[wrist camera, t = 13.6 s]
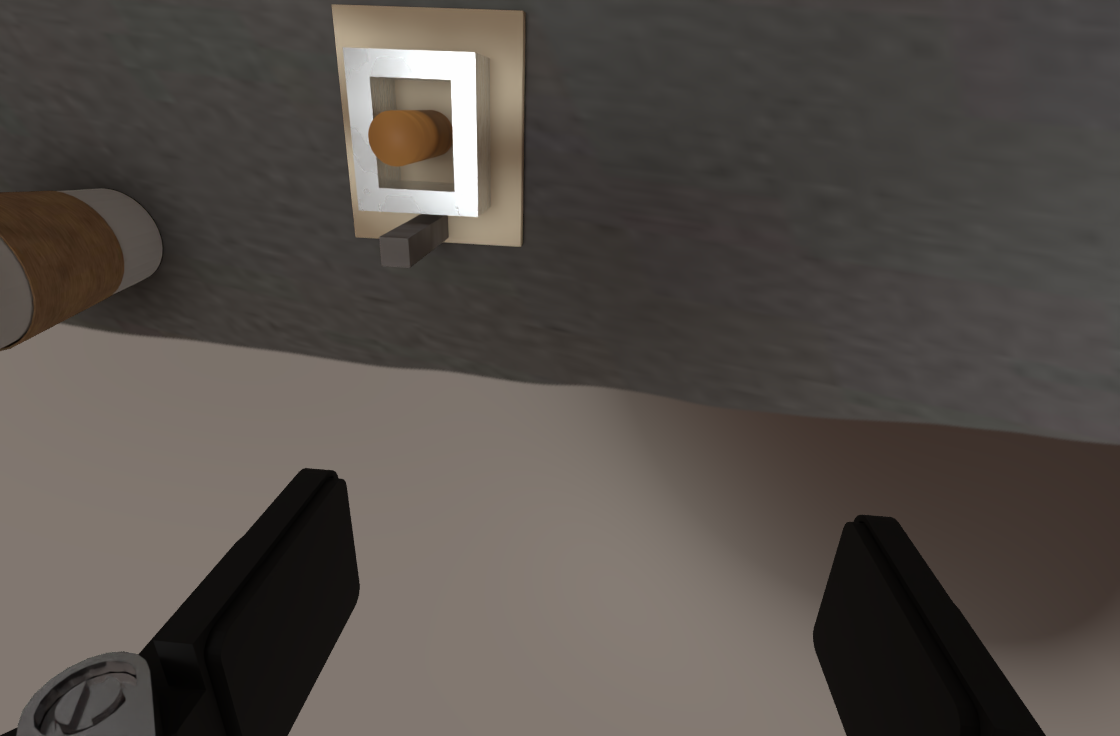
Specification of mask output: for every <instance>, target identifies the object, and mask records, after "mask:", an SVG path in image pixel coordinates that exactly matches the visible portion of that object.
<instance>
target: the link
mask: <svg viewBox="0 0 1120 736" xmlns="http://www.w3.org/2000/svg"><path fill="white" fill-rule="evenodd" d="M343 56H344V67H345V77H346V87H347V97H348V107H349V117H350V127H351V137H352V148H353V158H354V168H355V178H356V188H357V198H358V208H359V210H361V211H378V212H396V213H414V214H432V215H450V216H468V217H479V216H480V215H481V214H482V213H484V212H485V211H486V210H487V209H489V208H490V207H491V153H490V58H488V57H486V56H483V55H481V54H478V53H475V52H452V51H426V50H399V49H373V48H347V47H343ZM394 80H416V81H440V82H451V96H452V127H453V157H454V183H441V182H421V181H402V180H401V169H400V167H395V166H390V165H387V164H385V163H383V162H382V161H380V160H379V159H378V158H377V157H376V156H375V154H374V153H373V151H372V149H371V147H370V144H369V139H368V131H369V127H370V124H371V122H372V120H373V119H374V118H375V117H376V116H377V115H378V114H380V113H381V112H384V111H389V110H396V96H395V82H394Z"/></svg>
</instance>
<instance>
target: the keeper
mask: <svg viewBox="0 0 1120 736" xmlns="http://www.w3.org/2000/svg"><path fill="white" fill-rule="evenodd" d="M332 13H333V22H334V32H335V42H336V52H337V61H338V71H339V81H340V90H341V100H342V110H343V119H344V129H345V139H346V148H347V158H348V168H349V177H350V187H351V197H352V206H353V216H354V226H355V235H356V237H362V238H379V241H380V253H381V264H382V266H390V267H407V268H410V267H412V266H413V265H414V264H415V263H417V262H418V261H419V260H421V259H422V258H423V257H424V256H426V255H427V254H428V253H430V252H431V251H432V250H433V249H435V248H436V247H437V246H439V245H440V244H441V243H442V242H448V243H465V244H482V245H499V246H517V247H521V245H522V244H523V169H524V92H525V14H526V13H525V12H524V11H515V10H484V9H454V8H423V7H393V6H362V5H332ZM343 47H347V48H373V49H399V50H426V51H452V52H475V53H478V54H481V55H483V56H486V57H488V58H490V153H491V207H490V208H489V209H487V210H486V211H485V212H484V213H482V214H481V215H480V216H479V217H468V216H450V215H432V214H414V213H396V212H378V211H361V210H359V208H358V198H357V188H356V178H355V168H354V158H353V148H352V137H351V127H350V117H349V107H348V97H347V87H346V77H345V67H344V56H343ZM394 82H395V96H396V110H389V111H384V112H381V113H380V114H378V115H377V116H376V117H375V118H374V119H373V120H372V122H371V124H370V127H369V131H368V139H369V144H370V147H371V149H372V151H373V153H374V154H375V156H376V157H377V158H378V159H379V160H380V161H382V162H383V163H385V164H387V165H390V166H395V167H400V169H401V180H402V181H421V182H441V183H454V157H453V127H452V96H451V82H440V81H416V80H394Z"/></svg>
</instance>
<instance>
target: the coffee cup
mask: <svg viewBox="0 0 1120 736" xmlns="http://www.w3.org/2000/svg"><path fill="white" fill-rule="evenodd" d="M162 250H163V247H162V240H161V236H160V233H159V230H158V228H157V226H156V224H155V222H154V220H153V219H152V218H151V216H150V215H149V214H148V212H147V211H146V210H145V209H144V208H143V207H142V206H141V205H140V204H139V203H137V202H136V201H135V200H133V199H132V198H130V197H129V196H127V195H125V194H123V193H121V192H118V191H115V190H111V189H104V188H100V189H82V190H67V191H30V192H1V193H0V351H2V350H7V349H11V348H12V347H14V346H16V345H18V344H20V343H22V342H24V341H26V340H28V339H30V338H31V337H34V336H35V335H37V334H39V333H41V332H43V331H45V330H47V329H49V328H51V327H53V326H55V325H56V324H58V323H60V322H62V321H64V320H66V319H68V318H70V317H72V316H74V315H76V314H78V313H80V312H81V311H83V310H85V309H87V308H89V307H91V306H93V305H95V304H97V303H99V302H101V301H103V300H104V299H106V298H108V297H110V296H112V295H113V294H115V293H117V292H119V291H121V290H124V289H126V288H128V287H130V286H132V285H134V284H136V283H138V282H140V281H142V280H144V279H146V278H147V277H149V276H151V275H152V274H153V273H154V272H155V271H156V270H157V268H158V266H159V264H160V262H161V258H162Z"/></svg>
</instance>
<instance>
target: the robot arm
mask: <svg viewBox="0 0 1120 736" xmlns="http://www.w3.org/2000/svg"><path fill="white" fill-rule="evenodd" d="M359 590H360V584H359V576H358V569H357V562H356V553H355V546H354V538H353V531H352V524H351V516H350V508H349V501H348V493H347V486H346V482H345V481H344V480H343V479H338V475H337V474H336V472H335V471H333V470H321V469H309V468H305V469H302V470H301V471H300V472H299V473H298V474H297V475H296V476H295V477H294V478H293V480H292V481H291V482H290V483H289V484H288V485H287V486H286V488H285V489H284V490H283V491H282V492H281V493H280V494H279V496H278V497H277V498H276V499H275V500H274V502H273V503H272V504H271V505H270V506H269V507H268V508H267V510H266V511H265V512H264V513H263V514H262V515H261V516H260V518H259V519H258V520H257V521H256V522H255V523H254V524H253V526H252V527H251V528H250V529H249V530H248V532H247V533H246V534H245V535H244V536H243V537H242V538H241V539H239V540H238V541H237V542H236V543H235V544H234V546H233V547H232V548H231V549H230V550H229V551H228V552H227V553H226V555H225V556H224V557H223V558H222V559H221V560H220V562H219V563H218V564H217V565H216V566H215V567H214V568H213V570H212V571H211V572H210V573H209V574H208V575H207V576H206V578H205V579H204V580H203V581H202V582H201V583H200V584H199V586H198V587H197V588H196V589H195V590H194V591H193V592H192V594H191V595H190V596H189V597H188V598H187V599H186V601H185V602H184V603H183V604H182V605H181V606H180V607H179V609H178V610H177V611H176V612H175V613H174V615H173V616H172V617H171V618H170V619H169V620H168V621H167V622H166V623H165V625H164V626H163V627H162V628H161V629H160V630H159V632H158V633H157V634H156V635H155V636H154V637H153V638H152V640H151V641H150V642H149V643H148V644H147V645H146V646H145V648H144V649H143V650H142V651H141V652H140V653H139V654H134V653H129V652H112V653H105V654H101V655H98V656H95V657H91V658H88V659H86V660H84V661H81V662H79V663H77V664H75V665H73V666H71V667H69V668H67V669H66V670H64V671H63V672H61V673H60V674H58V675H57V676H55V677H54V678H52V679H51V680H49V681H48V682H47V683H46V684H45V685H44V686H43V687H42V688H41V689H39V690H38V691H37V692H36V693H35V694H34V695H33V697H32V698H31V699H30V701H29V702H28V704H27V705H26V706H25V708H24V709H23V711H22V714H21V717H20V720H19V723H18V727H17V728H15V729H13V730H11V731H9V732H7V733H5V734H2V735H0V736H288V734H289V732H290V730H291V728H292V726H293V724H294V722H295V720H296V719H297V717H298V715H299V713H300V711H301V709H302V707H303V705H304V703H305V701H306V699H307V697H308V695H309V694H310V691H311V690H312V687H313V686H314V684H315V682H316V680H317V678H318V676H319V674H320V672H321V671H322V669H323V667H324V665H325V663H326V661H327V659H328V657H329V655H330V653H331V651H332V649H333V648H334V645H335V643H336V642H337V640H338V638H339V636H340V634H341V632H342V630H343V628H344V626H345V624H346V623H347V621H348V619H349V617H350V615H351V613H352V611H353V609H354V607H355V605H356V603H357V600H358V596H359ZM813 642H814V648H815V651H816V654H817V656H818V659H819V662H820V665H821V667H822V670H823V673H824V676H825V678H826V681H827V684H828V686H829V689H830V692H831V695H832V697H833V700H834V703H835V705H836V708H837V711H838V714H839V716H840V719H841V722H842V724H843V727H844V730H845V732H846V735H847V736H1046V735H1045V734H1044V733H1043V731H1042V730H1041V728H1040V726H1039V725H1038V723H1037V722H1036V721H1035V719H1034V718H1033V716H1032V715H1031V713H1030V712H1029V710H1028V709H1027V707H1026V706H1025V705H1024V703H1023V702H1022V700H1021V699H1020V697H1019V696H1018V694H1017V693H1016V692H1015V690H1014V689H1013V687H1012V686H1011V684H1010V683H1009V681H1008V680H1007V678H1006V677H1005V675H1004V674H1003V672H1002V671H1001V670H1000V668H999V667H998V665H997V664H996V662H995V661H994V659H993V658H992V657H991V655H990V654H989V652H988V651H987V649H986V648H985V646H984V645H983V644H982V642H981V640H980V639H979V638H978V636H977V635H976V633H975V632H974V630H973V629H972V627H971V626H970V624H969V623H968V621H967V620H966V619H965V617H964V616H963V614H962V613H961V611H960V610H959V609H958V608H957V606H956V605H955V604H954V603H953V601H952V600H951V599H950V597H949V596H948V594H947V593H946V591H945V590H944V588H943V587H942V585H941V584H940V582H939V581H938V580H937V578H936V577H935V575H934V574H933V572H932V571H931V569H930V568H929V567H928V565H927V564H926V562H925V561H924V559H923V558H922V556H921V555H920V553H919V552H918V550H917V549H916V547H915V546H914V544H913V543H912V542H911V540H910V539H909V537H908V536H907V534H906V533H905V532H904V530H903V528H902V527H901V525H900V524H899V523H898V522H897V520H896V519H894V518H892V517H883V516H871V515H858V516H857V517H856V518H855V520H854V522H847V523H846V524H845V526H844V528H843V531H842V535H841V538H840V541H839V545H838V548H837V552H836V555H835V558H834V562H833V565H832V569H831V572H830V575H829V579H828V582H827V585H826V589H825V592H824V595H823V599H822V602H821V606H820V609H819V612H818V616H817V619H816V622H815V626H814V631H813Z"/></svg>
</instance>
